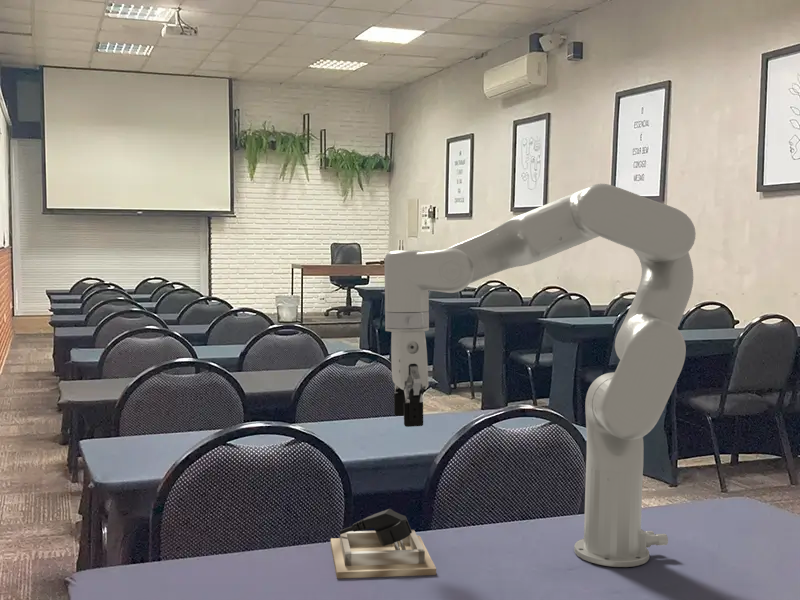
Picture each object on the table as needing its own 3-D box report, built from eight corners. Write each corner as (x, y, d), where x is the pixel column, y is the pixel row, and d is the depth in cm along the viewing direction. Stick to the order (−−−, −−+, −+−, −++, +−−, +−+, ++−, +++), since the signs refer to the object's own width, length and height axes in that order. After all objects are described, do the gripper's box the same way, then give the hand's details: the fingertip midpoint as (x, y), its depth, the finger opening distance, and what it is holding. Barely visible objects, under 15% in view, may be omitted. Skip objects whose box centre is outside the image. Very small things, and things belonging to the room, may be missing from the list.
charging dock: (419, 541, 152) (420, 524, 152) (436, 574, 136) (436, 556, 136) (330, 544, 150) (330, 527, 150) (336, 578, 134) (337, 559, 134)
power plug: (344, 522, 148) (405, 501, 145) (360, 563, 148) (421, 543, 144) (332, 532, 143) (395, 511, 139) (349, 575, 142) (413, 554, 139)
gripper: (439, 325, 138) (440, 429, 139) (418, 317, 155) (419, 410, 156) (393, 326, 137) (395, 431, 138) (378, 318, 154) (379, 412, 155)
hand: (408, 420), depth 147 cm, fingers open, 9 cm apart
